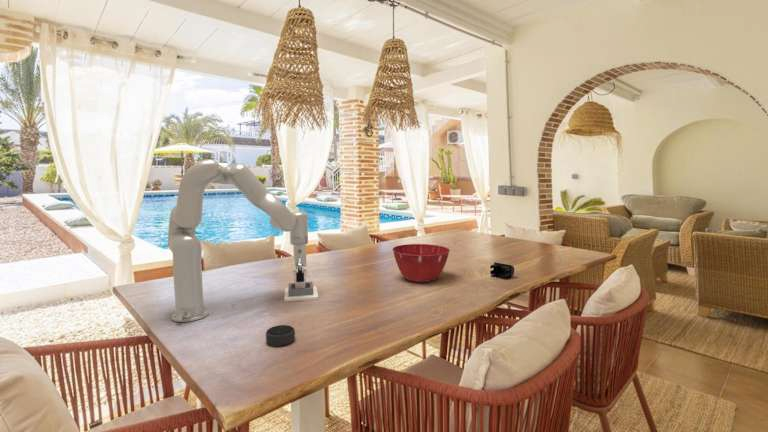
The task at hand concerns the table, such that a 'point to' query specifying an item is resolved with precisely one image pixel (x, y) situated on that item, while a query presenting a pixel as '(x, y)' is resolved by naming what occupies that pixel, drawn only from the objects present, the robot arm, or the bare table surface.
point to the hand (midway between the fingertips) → (300, 278)
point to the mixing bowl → (420, 261)
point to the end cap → (502, 271)
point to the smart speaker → (280, 335)
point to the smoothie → (300, 284)
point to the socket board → (300, 292)
